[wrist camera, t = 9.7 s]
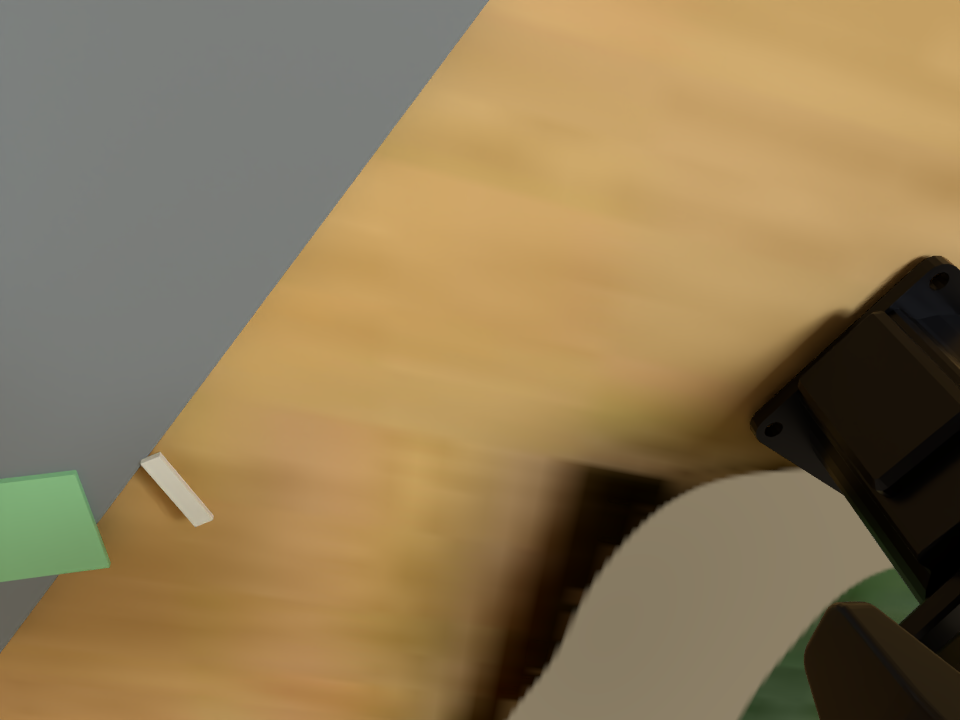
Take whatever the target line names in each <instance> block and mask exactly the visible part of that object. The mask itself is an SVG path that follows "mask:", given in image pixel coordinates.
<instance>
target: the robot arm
mask: <svg viewBox="0 0 960 720" xmlns="http://www.w3.org/2000/svg"><path fill="white" fill-rule="evenodd" d="M938 273H939V275H938V276H937V277H936V278H935V279H934V280H932V281H930V280H931V279H932V278H933V277H934V276H935V275H937V274H938ZM771 423H774V424H773V425H771V426H770V427H767V426H768V425H770V424H771ZM750 428H751V430H752V432H753V433H754V435H755V436H756V438H757V439H758V440H759V441H760V442H761V443H762V444H764V445H766V446H767V447H769V448H770V449H772V450H773V451H775V452H777V453H778V454H780V455H781V456H783V457H785V458H786V459H788V460H789V461H791V462H792V463H794V464H796V465H797V466H799V467H800V468H802V469H803V470H805V471H807V472H808V473H810V474H811V475H813V476H814V477H816V478H818V479H819V480H821V481H822V482H824V483H825V484H827V485H829V486H830V487H832V488H833V489H835V490H837V491H838V492H840V493H841V494H843V495H844V496H845V498H846V499H847V500H848V502H849V503H850V505H851V506H852V507H853V509H854V510H855V512H856V513H857V515H858V516H859V518H860V519H861V520H862V522H863V523H864V525H865V526H866V528H867V529H868V530H869V532H870V533H871V535H872V536H873V537H874V539H875V541H876V542H877V543H878V545H879V546H880V548H881V549H882V551H883V552H884V553H885V555H886V556H887V558H888V559H889V561H890V562H891V563H892V565H893V566H894V568H895V569H896V571H897V572H898V574H899V575H900V576H901V578H902V579H903V581H904V582H905V584H906V585H907V586H908V588H909V589H910V591H911V592H912V594H913V595H914V596H915V598H916V599H917V601H918V602H919V604H920V605H919V606H918V607H917V608H916V609H914V610H913V611H912V612H911V613H910V614H909V615H908V616H907V617H906V618H905V619H904V620H903V621H902V622H901V623H899V624H897V623H896V622H894V621H893V620H892V619H891V618H889V617H888V616H887V615H885V614H884V613H883V612H882V611H880V610H879V609H878V608H876V607H875V606H873V605H871V604H869V603H866V602H837V603H834V604H832V605H831V606H829V607H828V609H827V610H826V612H825V613H824V615H823V617H822V619H821V621H820V623H819V624H818V626H817V628H816V630H815V632H814V633H813V635H812V637H811V639H810V641H809V642H808V644H807V646H806V649H805V653H804V666H805V672H806V675H807V679H808V682H809V685H810V689H811V692H812V695H813V699H814V702H815V705H816V709H817V712H818V715H819V719H820V720H960V270H959V269H958V268H957V267H956V266H954V265H953V264H952V263H951V262H950V261H949V260H947V259H946V258H944V257H942V256H932V257H930V258H927V259H925V260H924V261H922V262H921V263H919V264H918V265H917V266H916V267H915V268H914V269H913V270H912V271H911V272H910V273H908V274H907V275H906V276H905V277H904V278H903V279H902V280H901V281H900V282H899V283H898V284H896V285H895V286H894V287H893V288H892V289H891V290H890V291H889V292H888V293H887V294H885V295H884V296H883V297H882V298H881V299H880V300H879V301H878V302H877V303H876V304H875V305H873V306H872V307H871V308H870V309H869V310H868V311H867V312H866V313H865V314H864V315H862V316H861V317H860V318H859V319H858V320H857V321H856V322H855V323H854V324H853V325H852V326H850V327H849V328H848V329H847V330H846V331H845V332H844V333H843V334H842V335H841V336H839V337H838V338H837V339H836V340H835V341H834V342H833V343H832V344H831V345H830V346H829V347H827V348H826V349H825V350H824V351H823V352H822V353H821V354H820V355H819V356H818V357H817V358H815V359H814V360H813V361H812V362H811V363H810V364H809V365H808V366H807V367H806V368H804V369H803V370H802V371H801V372H800V373H799V374H798V375H797V376H796V377H795V378H794V379H792V380H791V381H790V382H789V383H788V384H787V385H786V386H785V387H784V388H783V389H781V390H780V391H779V392H778V393H777V394H776V395H775V396H774V397H773V398H772V399H771V400H769V401H768V402H767V403H766V404H765V405H764V406H763V407H762V408H761V409H760V410H758V411H757V412H756V413H755V415H754V416H753V417H752V419H751V422H750Z"/></svg>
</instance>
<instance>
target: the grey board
mask: <svg viewBox="0 0 960 720" xmlns="http://www.w3.org/2000/svg"><path fill="white" fill-rule="evenodd" d="M488 1H489V0H0V653H1V651H2V650H3V649H4V647H5V646H6V645H7V643H8V642H9V641H10V639H11V638H12V637H13V635H14V634H15V633H16V631H17V630H18V629H19V627H20V626H21V625H22V623H23V622H24V621H25V619H26V618H27V617H28V615H29V614H30V613H31V611H32V610H33V609H34V607H35V606H36V605H37V603H38V602H39V601H40V599H41V598H42V597H43V595H44V594H45V593H46V591H47V590H48V589H49V587H50V586H51V585H52V583H53V582H54V581H55V579H56V578H57V577H58V575H59V574H65V573H72V572H80V571H87V570H95V569H102V568H110V564H111V562H110V560H109V557H108V554H107V552H106V549H105V546H104V543H103V541H102V538H101V535H100V533H99V530H98V527H97V523H98V522H99V521H100V519H101V518H102V516H103V515H104V514H105V512H106V511H107V510H108V508H109V507H110V506H111V504H112V503H113V502H114V500H115V499H116V498H117V496H118V495H119V494H120V492H121V491H122V490H123V488H124V487H125V486H126V484H127V483H128V482H129V480H130V479H131V478H132V476H133V475H134V474H135V472H136V471H137V470H138V468H139V467H140V466H142V467H143V468H144V469H145V470H146V471H147V472H148V474H149V475H150V476H151V477H152V478H153V479H154V480H155V482H156V483H157V484H158V485H159V486H160V487H161V488H162V490H163V491H164V492H165V493H166V494H167V495H168V496H169V498H170V499H171V500H172V501H173V502H174V503H175V505H176V506H177V507H178V508H179V509H180V510H181V511H182V513H183V514H184V515H185V516H186V517H187V518H188V519H189V521H190V522H191V523H192V524H193V525H194V526H195V527H197V526H199V525H202V524H204V523H207V522H209V521H211V520H213V516H214V515H213V514H212V513H211V512H210V510H209V509H208V508H207V507H206V506H205V504H204V503H203V502H202V501H201V500H200V499H199V497H198V496H197V495H196V494H195V493H194V491H193V490H192V489H191V488H190V487H189V485H188V484H187V483H186V482H185V481H184V480H183V478H182V477H181V476H180V475H179V474H178V472H177V471H176V470H175V469H174V468H173V466H172V465H171V464H170V463H169V462H168V461H167V459H166V458H165V457H164V456H163V455H162V453H161V452H158V453H156V454H154V455H151V456H149V457H147V456H148V455H149V454H150V452H151V451H152V450H153V448H154V447H155V446H156V444H157V443H158V442H159V440H160V439H161V438H162V436H163V435H164V434H165V432H166V431H167V430H168V428H169V427H170V426H171V424H172V423H173V422H174V420H175V419H176V418H177V416H178V415H179V414H180V412H181V411H182V410H183V408H184V407H185V406H186V404H187V403H188V402H189V400H190V399H191V398H192V396H193V395H194V394H195V392H196V391H197V390H198V388H199V387H200V386H201V384H202V383H203V382H204V380H205V379H206V378H207V376H208V375H209V374H210V372H211V371H212V370H213V368H214V367H215V366H216V364H217V363H218V362H219V360H220V359H221V358H222V356H223V355H224V354H225V352H226V351H227V350H228V348H229V347H230V346H231V344H232V343H233V342H234V340H235V339H236V338H237V336H238V335H239V334H240V332H241V331H242V330H243V328H244V327H245V326H246V324H247V323H248V321H249V320H250V319H251V317H252V316H253V315H254V313H255V312H256V311H257V309H258V308H259V307H260V305H261V304H262V303H263V301H264V300H265V299H266V297H267V296H268V295H269V293H270V292H271V291H272V289H273V288H274V287H275V285H276V284H277V283H278V281H279V280H280V279H281V277H282V276H283V275H284V273H285V272H286V271H287V269H288V268H289V267H290V265H291V264H292V263H293V261H294V260H295V259H296V257H297V256H298V255H299V253H300V252H301V251H302V249H303V248H304V247H305V245H306V244H307V243H308V241H309V240H310V239H311V237H312V236H313V235H314V233H315V232H316V231H317V229H318V228H319V227H320V225H321V224H322V223H323V221H324V220H325V219H326V217H327V216H328V215H329V213H330V212H331V211H332V209H333V208H334V207H335V205H336V204H337V203H338V201H339V200H340V199H341V197H342V196H343V195H344V193H345V192H346V191H347V189H348V188H349V187H350V185H351V184H352V183H353V181H354V180H355V179H356V177H357V176H358V175H359V173H360V172H361V171H362V169H363V168H364V167H365V165H366V164H367V163H368V161H369V160H370V159H371V157H372V156H373V155H374V153H375V152H376V151H377V149H378V148H379V147H380V145H381V144H382V143H383V141H384V140H385V139H386V137H387V136H388V135H389V133H390V132H391V130H392V129H393V128H394V126H395V125H396V124H397V122H398V121H399V120H400V118H401V117H402V116H403V114H404V113H405V112H406V110H407V109H408V108H409V106H410V105H411V104H412V102H413V101H414V100H415V98H416V97H417V96H418V94H419V93H420V92H421V90H422V89H423V88H424V86H425V85H426V84H427V82H428V81H429V80H430V78H431V77H432V76H433V74H434V73H435V72H436V70H437V69H438V68H439V66H440V65H441V64H442V62H443V61H444V60H445V58H446V57H447V56H448V54H449V53H450V52H451V50H452V49H453V48H454V46H455V45H456V44H457V42H458V41H459V40H460V38H461V37H462V36H463V34H464V33H465V32H466V30H467V29H468V28H469V26H470V25H471V24H472V22H473V21H474V20H475V18H476V17H477V16H478V14H479V13H480V12H481V10H482V9H483V8H484V6H485V5H486V4H487V2H488Z"/></svg>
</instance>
